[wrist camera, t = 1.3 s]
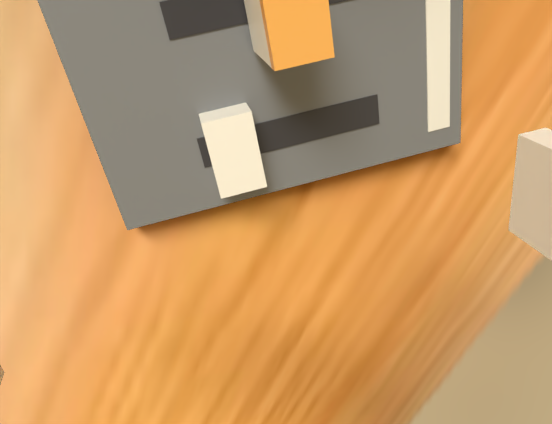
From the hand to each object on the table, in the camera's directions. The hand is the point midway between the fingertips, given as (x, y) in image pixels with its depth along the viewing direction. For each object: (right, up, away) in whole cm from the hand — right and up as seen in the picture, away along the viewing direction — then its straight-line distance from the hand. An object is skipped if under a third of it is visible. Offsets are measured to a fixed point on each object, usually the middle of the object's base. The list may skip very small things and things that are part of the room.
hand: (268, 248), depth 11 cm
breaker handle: (0, +13, +16) cm, 20 cm away
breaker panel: (0, +10, +20) cm, 22 cm away
